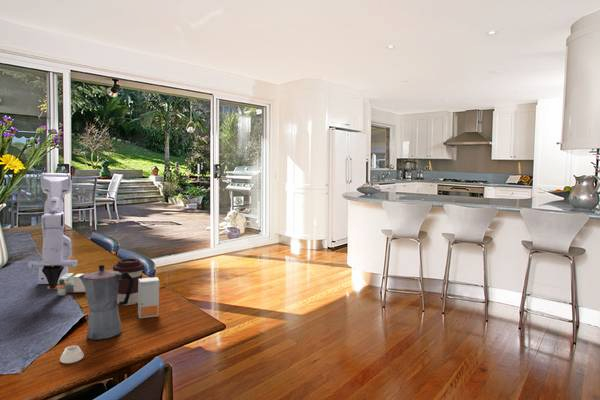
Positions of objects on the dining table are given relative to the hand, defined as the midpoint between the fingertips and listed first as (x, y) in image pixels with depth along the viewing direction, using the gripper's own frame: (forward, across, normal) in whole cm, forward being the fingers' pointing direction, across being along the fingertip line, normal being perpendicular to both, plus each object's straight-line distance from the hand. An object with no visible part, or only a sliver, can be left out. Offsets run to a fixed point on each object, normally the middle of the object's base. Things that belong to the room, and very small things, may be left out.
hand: (53, 287), depth 131 cm
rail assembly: (+5, +7, +12) cm, 15 cm away
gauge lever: (+1, 0, +3) cm, 4 cm away
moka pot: (+7, +24, -27) cm, 37 cm away
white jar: (+8, +21, -41) cm, 47 cm away
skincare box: (+7, +34, -14) cm, 37 cm away
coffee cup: (+6, +24, -1) cm, 25 cm away
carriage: (+5, +5, +12) cm, 14 cm away
